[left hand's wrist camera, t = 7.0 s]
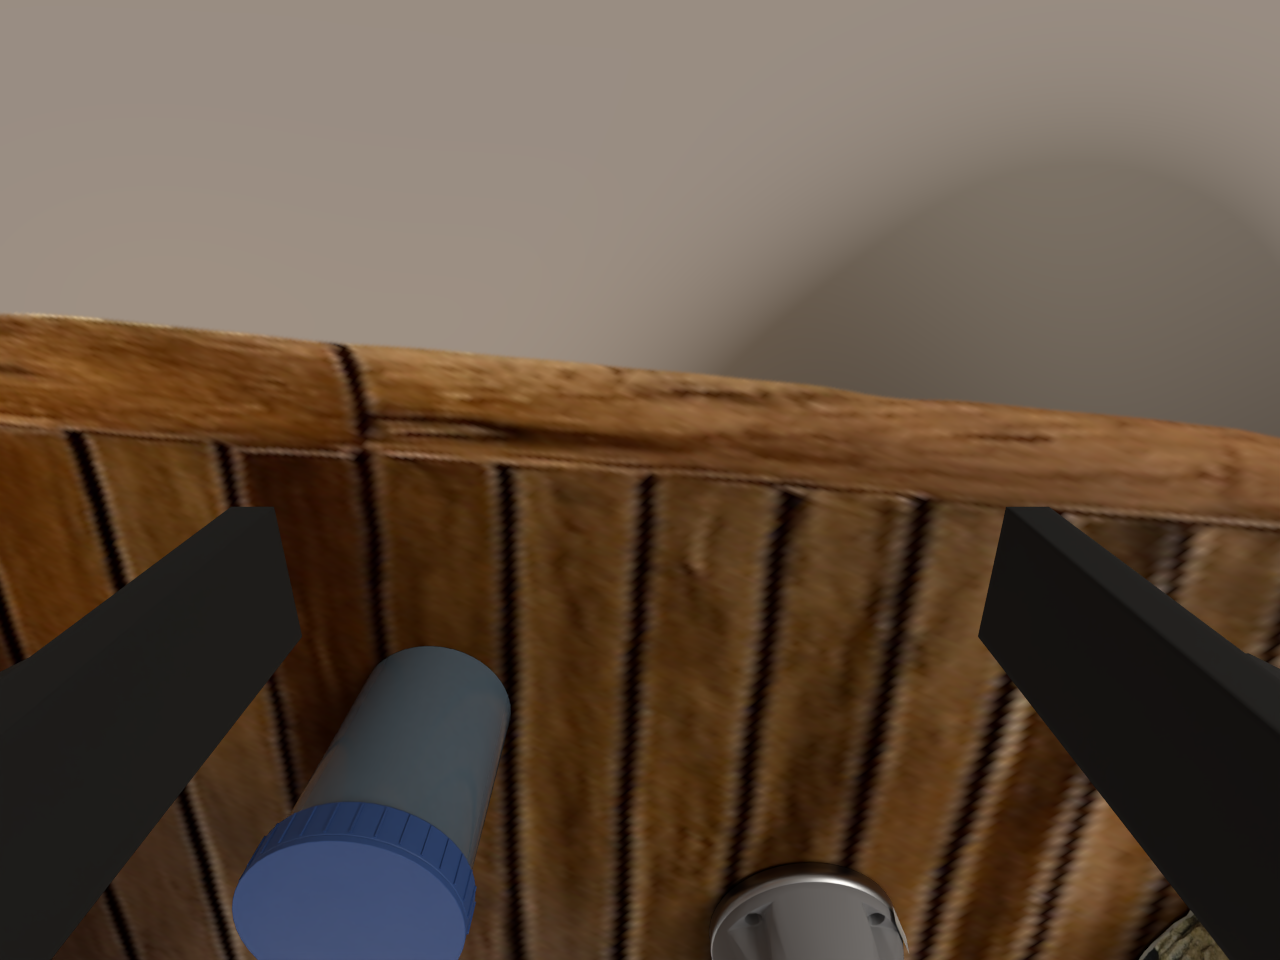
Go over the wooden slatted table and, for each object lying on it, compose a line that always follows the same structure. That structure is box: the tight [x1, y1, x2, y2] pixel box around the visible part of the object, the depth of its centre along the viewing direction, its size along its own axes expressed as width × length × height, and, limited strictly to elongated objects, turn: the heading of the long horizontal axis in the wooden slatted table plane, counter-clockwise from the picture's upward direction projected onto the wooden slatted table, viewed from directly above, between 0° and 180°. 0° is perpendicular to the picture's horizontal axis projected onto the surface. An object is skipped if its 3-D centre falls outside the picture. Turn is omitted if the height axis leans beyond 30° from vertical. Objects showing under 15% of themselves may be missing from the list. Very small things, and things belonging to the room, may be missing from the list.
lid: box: [232, 802, 476, 960], centre depth 35 cm, size 11×12×2 cm
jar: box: [289, 646, 511, 870], centre depth 41 cm, size 10×10×15 cm
